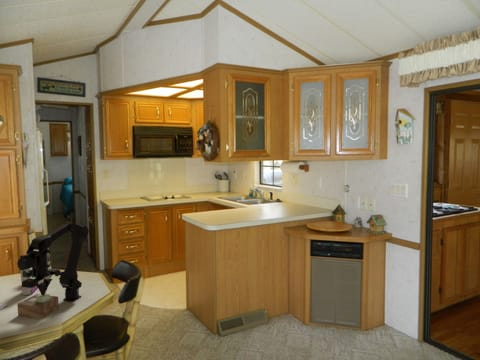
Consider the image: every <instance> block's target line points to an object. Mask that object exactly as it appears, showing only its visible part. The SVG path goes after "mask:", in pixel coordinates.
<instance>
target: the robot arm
mask: <svg viewBox="0 0 480 360" xmlns="http://www.w3.org/2000/svg"><path fill="white" fill-rule="evenodd" d="M68 233H71V234H70V237H71V241H72V242H71V246H70V251H69V255H68V258H67V263H66V264H67V265H66V268H65V270H64V271H61V270H60V269H58V268H51V269H50V270H48V267H50V265H48V259H47V254H50V253H52V251H51V250H50V249H49V248H50V247H51V246H53V243H54V242H55V241H57V240H58V239H60V238H62V237H63V236H64V235H66V234H68ZM88 234H89V227H87V226H86V225H78V224H77V223H73V222H68V221H67V222H64V223H63V224H61V225H60V226H58V227H57V228H55V229H54V230H52V231H50V232H48V233H47V234H44V235H39V236H37V237H34V238H33V239H32V240H31V241H30V243H29V244H30V245H29V246H28V248H27V250H26V254H22V255H19V259H17V268H18V269H19V270H25V271H22V275H23V277H26V278H29V277H31V276H32V278H34V277H35V279H30V278H29V279H27V280H24V281H23V282H22V283H21V288H22V287H26V288H33V287H35V286H37V287H38V288H37V290H38V291H39V294H41V295H45V293H46V292H47V291H48V287H49V286H50V284H51V282H52V281H53V278H51V279H50V276H55V277H59V278H58V280H59V284H60V286H61V288H63V289H64V291H65V292H64V298H63V301H66V302H76V300H78V299H81V297H82V295H80V291H79V289H80V288H81V287H82V284H83V283H82V282H81V281H80V280H79V279H78V277H79V274H78V271H77V268H78V264H79V259H80V256H81V251H82V247H83V243H84V242H85V241H86V239H87V237H88ZM29 268H32V270H29V271H28V270H26V269H29Z"/></svg>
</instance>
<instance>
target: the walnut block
mask: <svg viewBox="0 0 480 360" xmlns="http://www.w3.org/2000/svg"><path fill="white" fill-rule="evenodd" d="M40 294H41V293H36V294H34V295H32V296H30V297H28V298H26V299H24V300H22V301H19V302H18V303H17V315H18V316H21V317H26V318H31V319H38V320H41V319H42V318H44V317H46V316H48V315H49V314H51V313H53V312H55V311H56V310H58V309H59V307H60V306H59V304H60V303H59V296H57V295H50V300H49V301H47V302H45V303H39V302H37V300H35V301H33V302H32V301H27V300H29V299H31V298H37V296H38V295H40ZM54 310H55V311H54Z"/></svg>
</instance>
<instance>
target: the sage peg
mask: <svg viewBox="0 0 480 360" xmlns="http://www.w3.org/2000/svg"><path fill="white" fill-rule="evenodd" d="M39 294H40V295H38V296H37V302H39V303H45V302H47V301H49V300H50V296H51V294H50V293H45V295H41V293H39Z"/></svg>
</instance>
